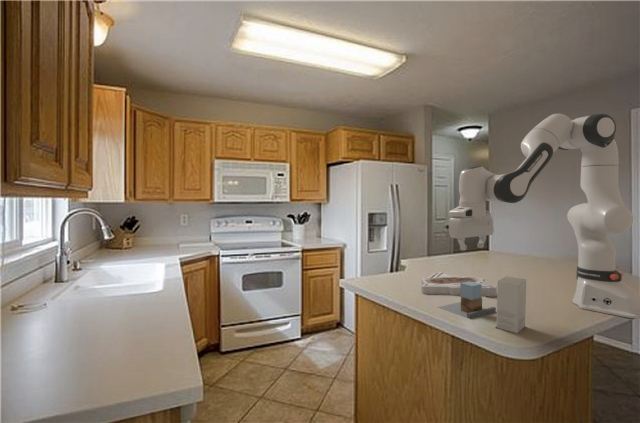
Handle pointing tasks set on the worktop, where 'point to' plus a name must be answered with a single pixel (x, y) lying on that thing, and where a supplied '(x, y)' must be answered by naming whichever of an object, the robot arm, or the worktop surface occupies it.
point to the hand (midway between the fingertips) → (472, 248)
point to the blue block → (471, 290)
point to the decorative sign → (453, 284)
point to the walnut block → (471, 305)
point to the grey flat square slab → (457, 310)
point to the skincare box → (511, 304)
